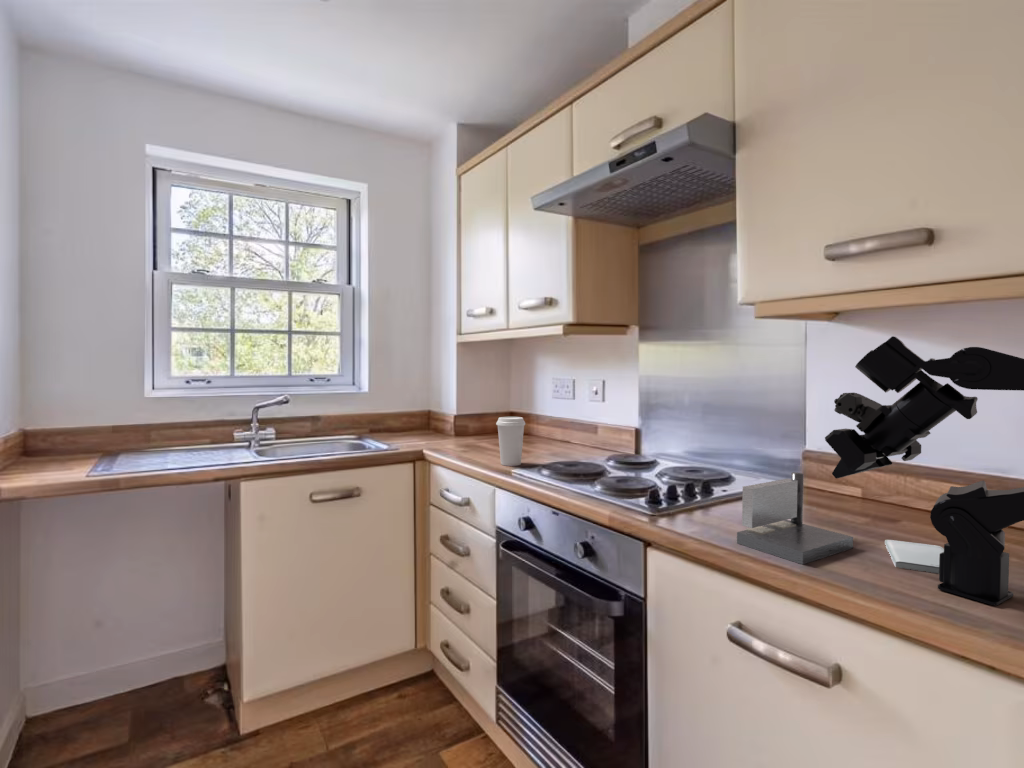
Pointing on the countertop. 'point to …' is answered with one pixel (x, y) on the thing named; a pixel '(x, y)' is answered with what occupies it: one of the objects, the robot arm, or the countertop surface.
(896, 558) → the hard drive
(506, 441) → the coffee cup
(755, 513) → the grey flat panel
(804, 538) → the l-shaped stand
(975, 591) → the robot arm
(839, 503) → the countertop surface
